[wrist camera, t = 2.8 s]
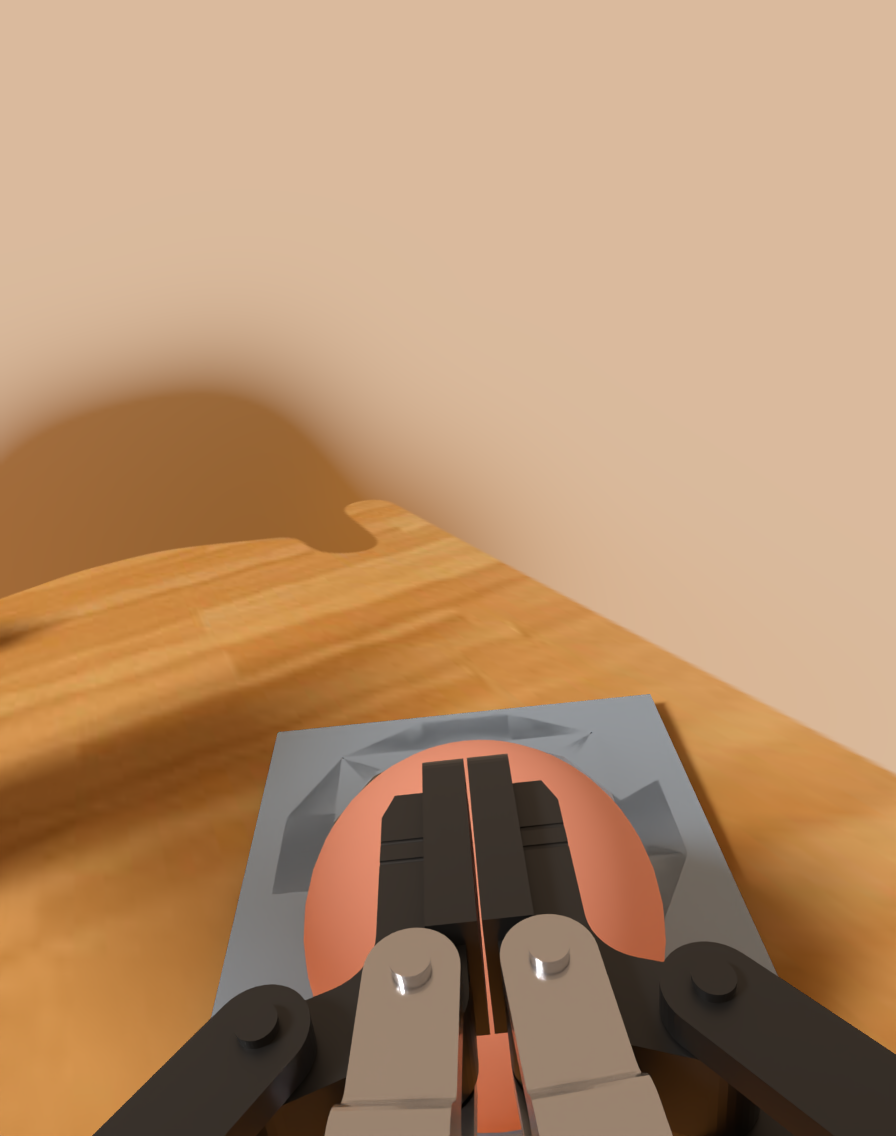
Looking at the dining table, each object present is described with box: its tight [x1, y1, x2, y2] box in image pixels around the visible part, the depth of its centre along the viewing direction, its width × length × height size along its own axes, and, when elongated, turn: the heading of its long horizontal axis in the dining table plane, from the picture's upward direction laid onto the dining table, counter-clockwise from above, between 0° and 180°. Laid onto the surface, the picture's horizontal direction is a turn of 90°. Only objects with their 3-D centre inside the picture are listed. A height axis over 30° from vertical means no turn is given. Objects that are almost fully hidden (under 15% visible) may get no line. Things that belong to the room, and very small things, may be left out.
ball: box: [304, 740, 666, 1133], centre depth 29 cm, size 12×12×12 cm
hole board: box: [211, 694, 778, 1136], centre depth 39 cm, size 24×22×1 cm
